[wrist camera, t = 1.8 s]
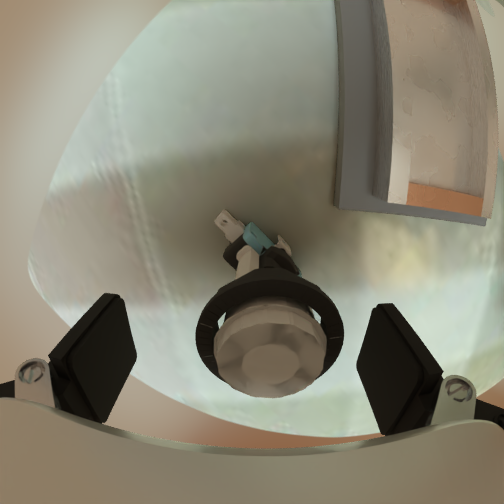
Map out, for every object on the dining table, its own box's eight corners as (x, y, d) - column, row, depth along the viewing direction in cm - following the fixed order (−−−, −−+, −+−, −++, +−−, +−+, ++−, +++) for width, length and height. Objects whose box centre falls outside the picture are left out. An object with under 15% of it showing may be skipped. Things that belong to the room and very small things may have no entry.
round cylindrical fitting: (194, 238, 17) (128, 332, 8) (253, 180, 16) (241, 220, 7) (264, 304, 19) (265, 425, 10) (323, 256, 18) (377, 360, 8)
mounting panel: (466, 9, 9) (473, 5, 8) (476, 222, 16) (485, 226, 15) (328, -44, 9) (332, -52, 8) (333, 205, 16) (338, 209, 15)
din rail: (459, 3, 8) (473, -5, 6) (472, 210, 15) (490, 218, 13) (361, -38, 8) (370, -53, 6) (372, 195, 15) (387, 202, 13)
